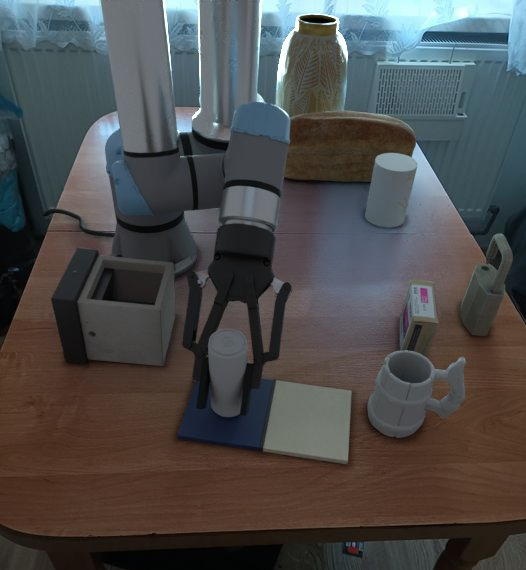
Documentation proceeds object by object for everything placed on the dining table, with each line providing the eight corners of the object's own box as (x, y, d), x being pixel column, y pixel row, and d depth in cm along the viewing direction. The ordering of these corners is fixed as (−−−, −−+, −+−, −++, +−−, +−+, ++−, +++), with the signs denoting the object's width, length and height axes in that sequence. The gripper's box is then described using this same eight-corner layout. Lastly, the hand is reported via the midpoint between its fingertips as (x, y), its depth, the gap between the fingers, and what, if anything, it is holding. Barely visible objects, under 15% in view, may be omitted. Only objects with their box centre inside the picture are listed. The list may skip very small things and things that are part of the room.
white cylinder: (403, 229, 109) (417, 173, 101) (363, 224, 110) (374, 168, 102) (404, 210, 115) (417, 155, 107) (366, 205, 116) (376, 150, 108)
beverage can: (214, 422, 71) (212, 357, 63) (207, 396, 74) (204, 330, 66) (250, 415, 72) (252, 350, 64) (241, 389, 75) (242, 324, 67)
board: (177, 438, 70) (177, 434, 69) (199, 373, 79) (199, 368, 78) (347, 464, 68) (348, 460, 67) (350, 394, 77) (351, 390, 76)
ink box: (398, 319, 89) (410, 277, 83) (422, 322, 89) (435, 281, 83) (399, 362, 82) (411, 320, 76) (424, 365, 81) (439, 323, 76)
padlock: (480, 304, 93) (511, 228, 82) (491, 336, 87) (526, 258, 76) (456, 303, 93) (485, 226, 82) (466, 334, 87) (498, 256, 76)
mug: (363, 393, 77) (379, 331, 68) (447, 401, 76) (473, 339, 68) (366, 437, 71) (384, 374, 63) (456, 445, 71) (486, 383, 62)
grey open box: (163, 372, 79) (159, 308, 71) (65, 363, 79) (50, 298, 70) (175, 318, 88) (174, 256, 80) (87, 310, 88) (76, 246, 79)
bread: (411, 187, 123) (426, 128, 113) (276, 184, 122) (279, 123, 112) (401, 163, 131) (413, 106, 122) (274, 160, 130) (277, 102, 121)
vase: (268, 125, 146) (273, 9, 127) (329, 123, 148) (343, 9, 130) (281, 152, 133) (288, 29, 115) (347, 149, 136) (365, 28, 117)
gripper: (316, 244, 72) (293, 418, 71) (185, 229, 73) (162, 399, 73) (317, 229, 64) (291, 424, 64) (171, 213, 66) (145, 403, 65)
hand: (222, 410), depth 68 cm, fingers closed on beverage can, 5 cm apart
